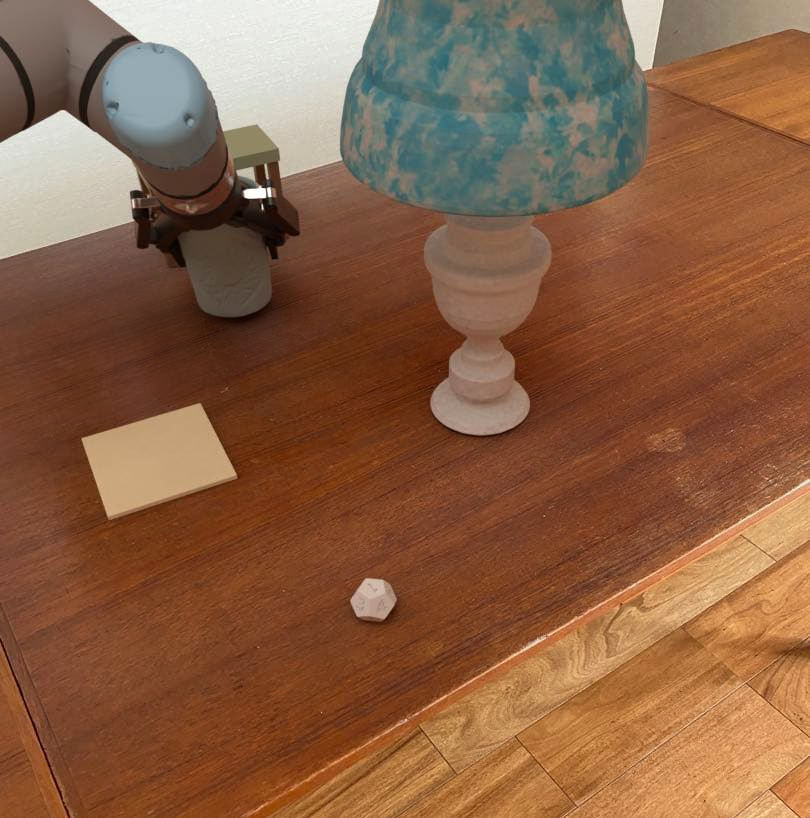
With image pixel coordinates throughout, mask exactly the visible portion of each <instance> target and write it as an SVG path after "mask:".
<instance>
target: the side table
mask: <svg viewBox="0 0 810 818" xmlns="http://www.w3.org/2000/svg"><path fill="white" fill-rule="evenodd" d="M223 133H224V136H225V140H226V143H227V146H228V148H229V151H230V154H231V156H232V159H233V163H234V166H235V169H236V171H240V170H241V171H242V170H246V169H249V168H253V175H254V181H255V182H257V183H258V184H259V185H262V182H263V181H264V180H266V179H271V180H274V181H275V187H276V190H277V191H278V192H279V193H280V194H281V195H282V196H283V197H284V193H283V186H282V185H283V184H282V179H281V172H280V171H281V170H280V163H279V162H280V161H281V154H280V148H279V147H278V146H277V144H276V143H275V142H273V140H272V139H271V138H270V137H269V136H268V134H267V133H266V132H265V131H264V130H263V129H262V128H261V127H260V126H259V125H258V124H252V125H251V124H250V125H247V126H242V127H239V128H232V129H228V130H227V129H226V130H224V131H223ZM131 163H132V165H133V167H134V168H135V171H136V175H137V179H138V183H139V186H140V191H142V192H143V193H144V194H145V195H147V194H150V195H151V197H156V196H155V194H154V193H153V191H152V189H151V188H150V186H149V184H148V183H147V181H146V179H145V178H144V177H143V175H142V173H141V172H140V170H139V169H138V167H137V166H136V164H135V163H134V162H133V161H132V160H131ZM265 165H266V166H265ZM266 170H267V173H266ZM267 177H268V178H267ZM161 214H162V212H161V211H160V210H158V211H157V212H156V214H154V217H160V215H161ZM151 227H153V221H152V222H151ZM288 239H289V235H288V234H287V233H286V234H285V240H288ZM164 256H165V260H166V264H167V266H168V268H169V269H173V268H177V267H180V266H179V265H178V264H177V262H176V261H175V259H174V258H173V256H172V255H171V253H167V254H164Z"/></svg>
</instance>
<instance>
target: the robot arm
mask: <svg viewBox="0 0 810 818" xmlns="http://www.w3.org/2000/svg"><path fill="white" fill-rule="evenodd" d="M212 92H213V91H212V90H210V89H209V87H208V84H207V81H206V80H205V78H204V77H203V75H202V73H201V71H200V69H199V68H198V67H197V66H196V64H195V63H194V61H193V60H192V59H190V58H189V57H188V56H187V55H186V54H185V53H184V52H182V51H180V50H179V49H177V48H176V47H174V46H170V45H168V44H162V43H156V42H151V41H146V42H143V40H140V39H139V38H137V37H136V36H135V35H134V34H132V33H131V32H130V31H128V30H127V29H126V28H125V27H123V26H122V25H121V24H119V23H118V22H117V21H115V20H114V19H113V18H112V17H111V16H109V15H108V14H107V13H105V12H104V11H103V10H102V9H101V8H99V7H98V6H97V5H95V4H94V3H93V2H92V1H91V0H0V144H1V143H3V142H5V141H7V140H9V139H11V138H12V137H14V136H16V135H17V134H20V133H21V132H24V131H27V130H28V129H30V128H32V127H34V126H35V125H38V124H39V123H40V122H43V121H45V120H47V119H48V118H50V117H52V116H54V115H55V114H57V113H59V112H61V111H65V112H67V114H69V115H70V116H72V117H73V118H75V119H76V120H78V121H79V122H80V123H81V124H83V125H84V126H86V127H87V128H88V129H89V130H91V131H92V132H94V133H96V134H97V135H99V136H100V137H101V138H102V139H104V140H105V141H106V142H108V143H109V144H110V145H112V146H113V147H114V148H116V149H117V150H119V152H121V153H123V154H124V155H125V156H126V157H127V158H129V159H130V160H131V162H132V161H133V162H134V163H135V164H136V166H137V167H138V169H139V170H140V172H141V173H142V175H143V177H144V178H145V179H146V181H147V183H148V184H149V186H150V188H151V189H152V191H153V193H154V194H155V196H156V197H151V195H150V194H147V195H145V194H144V193H143V192H142V191H141V189H140V190H139V189H133V190H130V191H129V197H130V208H131V215H132V219H133V225H134V227H133V228H134V236H135V245H136V248H137V249H139V250H146V249H149V247H150V245H154V246H155V249H157V250H159V251H160V252H161V253H162V254H164V255H165V254H167V253H171V255H172V256H173V258H174V259H175V261H176V262H177V264H178V265H179V266H178V267H179V268H187V267H186V260H185V259H184V257H183V255H182V252H181V248H180V245H179V242H178V239H177V237H178V236H179V235H180V234H181V233H182V232H189V231H190V230H196V231H206V230H211V229H214V228H217V227H219V226H221V225H222V224H227V225H229V226H232V227H234V228H239V227H246V228H248V229H250V230H253V231H255V232H258V233H260V234H262V235H265V236H266V242H267V250H268V253H269V256H270V258H271V261H274V260H275V261H276V260H279V250H278V247H279V248H280V247H283V246H285V244H286V239H285V234H286V233H287V234H288V236H290V237H299V236H300V235H301V228H300V218H299V211H298V209H297V208H296V207H295V206H294V205H293V204H292V203H291V202H290V201H289V200H288V199H286V197H285V196H284V195H283V196H282V195H281V194H280V193H279V192H278V191H277V190H276V187H275V181H274V180H271V179H269V178H266V180H264V181H263V182H262V185H259V186H257V189H248V188H247V186H246V185H245V184H243V183H241V182H240V181H239V178H238V176H239V175H238V172H237V170H236V169H235V166H234V163H233V159H232V156H231V154H230V151H229V148H228V146H227V143H226V140H225V136H224V133H223V128H222V124H221V121H220V117H219V110H218V106H217V103H216V99H215V98H214V96H213V95H214V94H213V93H212ZM158 210H160V211H161V212H162V214H161V215H160V217H154V214H156V212H157V211H158ZM152 221H153V227H151V222H152Z"/></svg>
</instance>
